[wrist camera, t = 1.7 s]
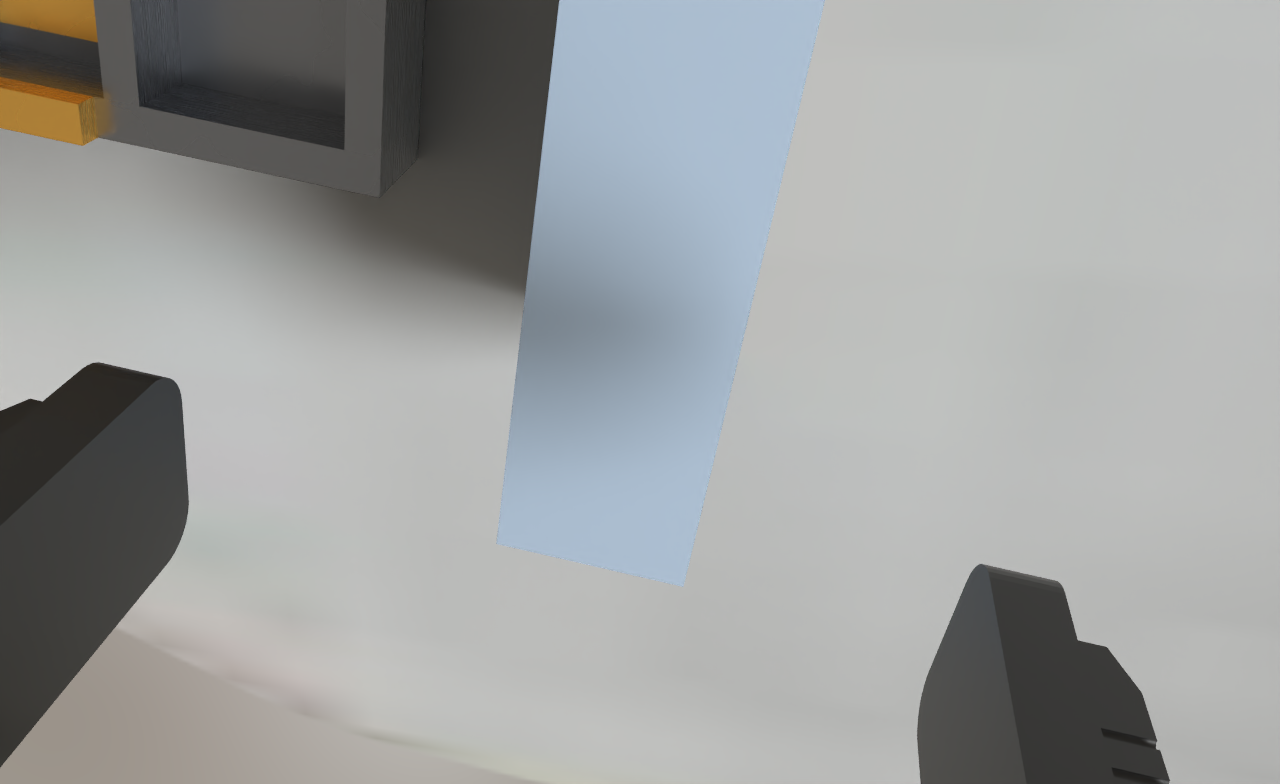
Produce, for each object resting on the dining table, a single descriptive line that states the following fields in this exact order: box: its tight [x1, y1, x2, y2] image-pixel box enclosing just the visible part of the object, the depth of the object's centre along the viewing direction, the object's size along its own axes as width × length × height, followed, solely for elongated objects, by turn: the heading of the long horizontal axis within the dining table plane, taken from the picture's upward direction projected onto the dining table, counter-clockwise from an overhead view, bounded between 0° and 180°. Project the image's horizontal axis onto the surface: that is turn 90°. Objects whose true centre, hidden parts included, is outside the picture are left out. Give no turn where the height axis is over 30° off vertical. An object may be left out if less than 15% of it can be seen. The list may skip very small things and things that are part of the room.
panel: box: [496, 0, 825, 587], centre depth 18 cm, size 9×3×8 cm, turn 171°
